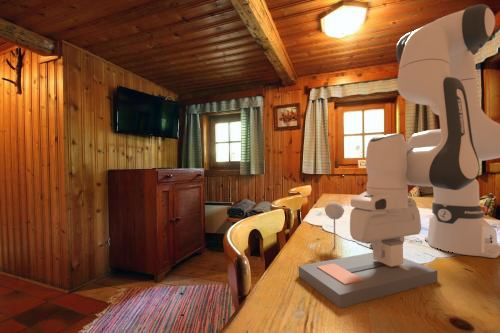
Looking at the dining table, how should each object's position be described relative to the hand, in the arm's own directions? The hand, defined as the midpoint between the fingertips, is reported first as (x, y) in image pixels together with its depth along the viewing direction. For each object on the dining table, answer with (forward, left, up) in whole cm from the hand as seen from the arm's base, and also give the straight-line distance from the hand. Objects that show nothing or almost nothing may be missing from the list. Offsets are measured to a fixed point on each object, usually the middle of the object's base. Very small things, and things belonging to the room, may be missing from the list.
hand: (387, 255), depth 57 cm
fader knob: (0, 0, -1) cm, 1 cm away
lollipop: (-2, -21, -5) cm, 22 cm away
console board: (+7, 0, -4) cm, 8 cm away
